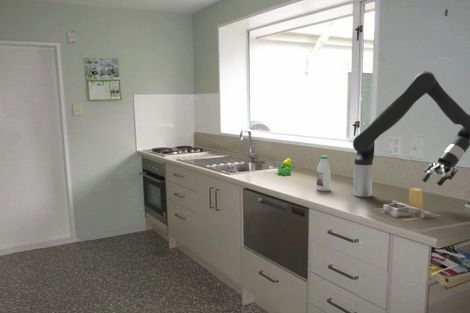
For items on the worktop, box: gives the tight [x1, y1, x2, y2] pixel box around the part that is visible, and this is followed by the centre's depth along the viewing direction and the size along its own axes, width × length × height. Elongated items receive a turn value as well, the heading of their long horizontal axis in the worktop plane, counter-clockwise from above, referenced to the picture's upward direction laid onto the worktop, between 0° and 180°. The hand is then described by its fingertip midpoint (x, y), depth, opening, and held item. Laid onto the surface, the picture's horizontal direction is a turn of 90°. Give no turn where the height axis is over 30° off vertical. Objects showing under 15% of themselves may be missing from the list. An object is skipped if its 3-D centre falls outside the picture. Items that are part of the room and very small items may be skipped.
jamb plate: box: [373, 200, 441, 222], centre depth 177 cm, size 20×20×4 cm
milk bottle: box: [316, 154, 331, 192], centre depth 227 cm, size 8×8×20 cm
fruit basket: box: [276, 157, 293, 176], centre depth 277 cm, size 11×9×11 cm
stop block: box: [408, 187, 424, 210], centre depth 178 cm, size 4×4×10 cm
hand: (430, 182), depth 180 cm, fingers open, 8 cm apart
